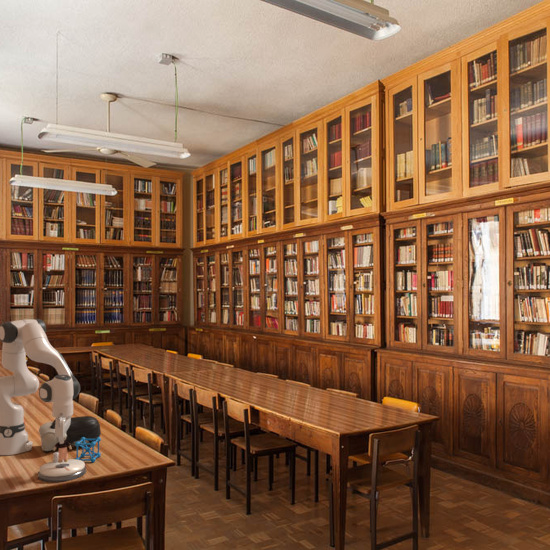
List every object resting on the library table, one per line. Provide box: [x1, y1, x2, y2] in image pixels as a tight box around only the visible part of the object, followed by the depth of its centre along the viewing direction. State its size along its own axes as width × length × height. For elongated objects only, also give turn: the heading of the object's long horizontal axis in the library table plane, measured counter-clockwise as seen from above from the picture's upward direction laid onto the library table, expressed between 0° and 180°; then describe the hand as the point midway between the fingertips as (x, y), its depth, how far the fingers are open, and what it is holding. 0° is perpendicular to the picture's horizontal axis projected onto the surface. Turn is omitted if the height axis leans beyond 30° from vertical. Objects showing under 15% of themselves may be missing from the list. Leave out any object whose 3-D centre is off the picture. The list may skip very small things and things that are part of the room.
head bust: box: [38, 415, 102, 454], centre depth 278 cm, size 22×17×30 cm
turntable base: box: [37, 465, 87, 483], centre depth 237 cm, size 20×20×2 cm
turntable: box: [39, 451, 86, 477], centre depth 237 cm, size 19×19×6 cm
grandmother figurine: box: [53, 433, 73, 463], centre depth 237 cm, size 8×4×13 cm, turn 127°
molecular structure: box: [74, 436, 102, 464], centre depth 257 cm, size 10×10×10 cm
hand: (62, 442), depth 238 cm, fingers closed on grandmother figurine, 3 cm apart
